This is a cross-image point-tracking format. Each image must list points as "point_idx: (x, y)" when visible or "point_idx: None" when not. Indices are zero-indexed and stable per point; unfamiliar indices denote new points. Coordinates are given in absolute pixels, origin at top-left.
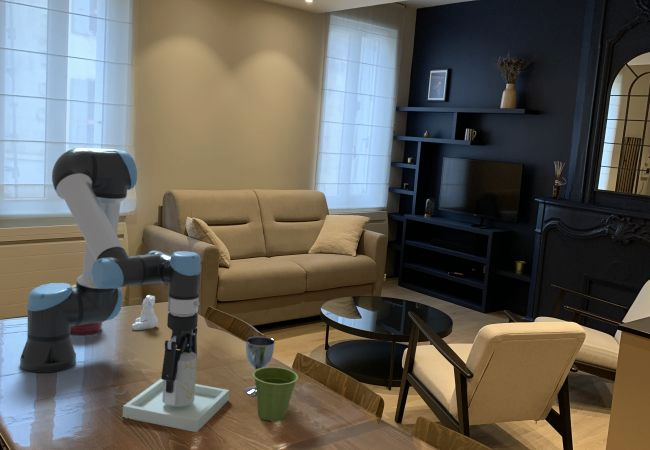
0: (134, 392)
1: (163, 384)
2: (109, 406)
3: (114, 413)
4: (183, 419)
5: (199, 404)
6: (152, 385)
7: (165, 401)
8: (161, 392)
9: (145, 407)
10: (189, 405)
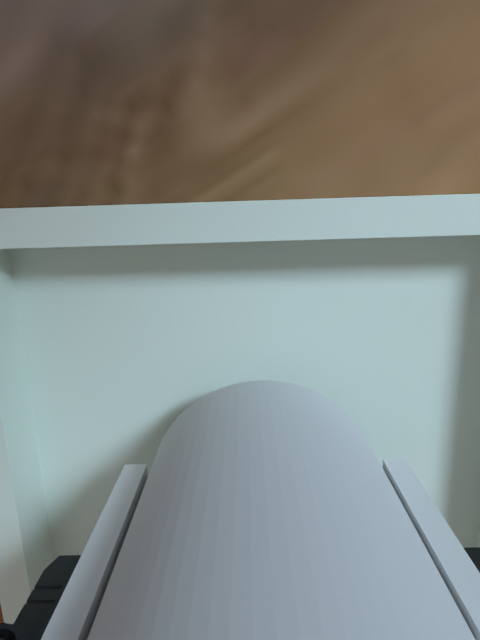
0: (380, 42)
1: (167, 483)
2: (76, 15)
3: (3, 124)
4: None
5: None
6: (395, 205)
7: (121, 476)
8: (403, 270)
9: (128, 299)
10: None
